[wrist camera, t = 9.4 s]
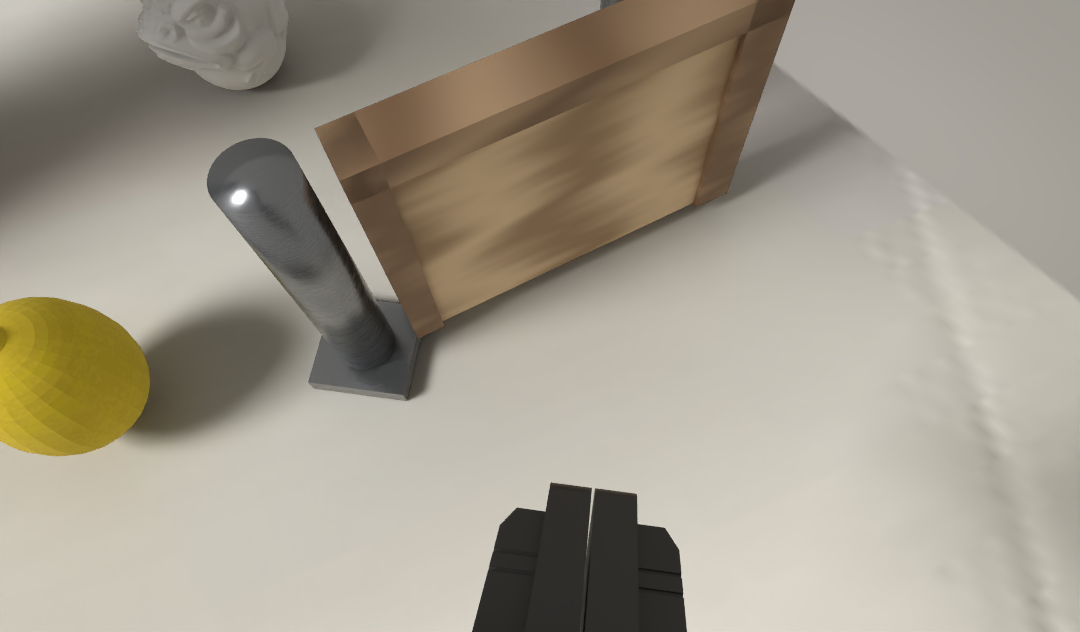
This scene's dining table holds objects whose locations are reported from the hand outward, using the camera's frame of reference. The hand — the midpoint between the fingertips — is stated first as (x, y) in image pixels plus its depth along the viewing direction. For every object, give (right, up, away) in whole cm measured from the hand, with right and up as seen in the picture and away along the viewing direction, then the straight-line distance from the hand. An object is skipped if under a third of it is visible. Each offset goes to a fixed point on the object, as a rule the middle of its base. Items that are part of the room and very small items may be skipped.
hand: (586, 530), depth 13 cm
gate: (0, +7, +19) cm, 20 cm away
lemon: (-19, 0, +18) cm, 26 cm away
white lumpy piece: (-16, +16, +25) cm, 34 cm away
